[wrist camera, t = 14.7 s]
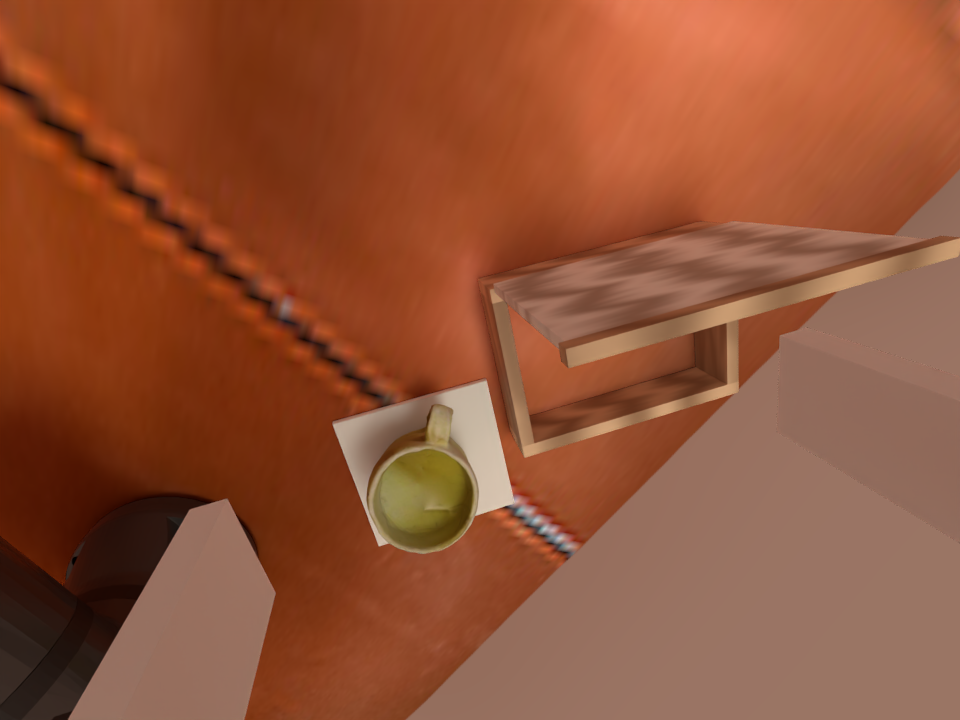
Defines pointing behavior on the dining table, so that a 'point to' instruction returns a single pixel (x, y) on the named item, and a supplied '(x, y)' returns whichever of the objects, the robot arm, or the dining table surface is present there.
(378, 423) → the mat
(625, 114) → the dining table surface
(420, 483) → the mug
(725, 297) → the open wooden box
